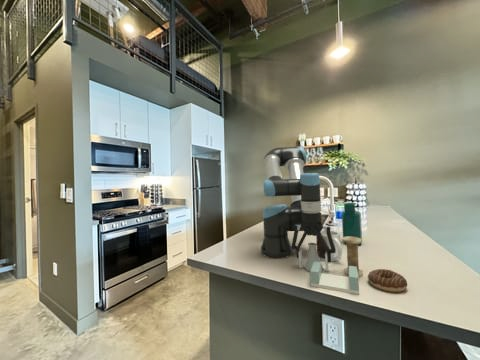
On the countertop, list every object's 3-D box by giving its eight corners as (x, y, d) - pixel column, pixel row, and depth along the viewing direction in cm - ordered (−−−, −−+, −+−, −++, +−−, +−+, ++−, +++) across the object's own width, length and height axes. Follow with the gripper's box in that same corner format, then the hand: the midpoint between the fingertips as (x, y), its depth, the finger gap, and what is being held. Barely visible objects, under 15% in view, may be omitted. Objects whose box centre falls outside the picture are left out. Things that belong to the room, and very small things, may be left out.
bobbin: (344, 275, 77) (342, 240, 77) (344, 269, 82) (342, 235, 82) (363, 278, 74) (361, 241, 74) (362, 271, 79) (360, 237, 79)
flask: (325, 273, 79) (323, 246, 80) (305, 272, 81) (303, 246, 81) (321, 265, 87) (320, 241, 87) (303, 264, 88) (302, 240, 88)
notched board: (311, 286, 70) (310, 271, 70) (314, 274, 78) (313, 261, 78) (359, 294, 64) (358, 278, 64) (357, 281, 72) (356, 266, 72)
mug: (342, 254, 97) (341, 230, 97) (342, 264, 86) (341, 237, 86) (317, 252, 102) (316, 229, 102) (315, 261, 91) (314, 235, 91)
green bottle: (345, 240, 119) (343, 201, 120) (362, 242, 114) (360, 201, 115) (342, 244, 111) (340, 203, 112) (360, 247, 106) (358, 203, 107)
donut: (417, 293, 64) (416, 279, 64) (384, 296, 63) (383, 282, 63) (389, 277, 74) (388, 265, 75) (361, 279, 74) (360, 268, 74)
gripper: (281, 212, 85) (284, 267, 85) (341, 214, 76) (344, 276, 75) (286, 209, 92) (288, 261, 92) (341, 211, 82) (344, 268, 82)
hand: (313, 268), depth 84 cm, fingers open, 9 cm apart
